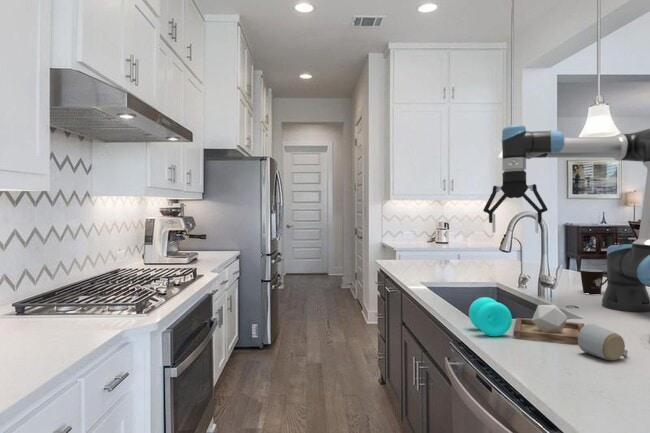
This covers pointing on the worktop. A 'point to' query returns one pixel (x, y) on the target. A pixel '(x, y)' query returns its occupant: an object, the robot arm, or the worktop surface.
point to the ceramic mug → (601, 342)
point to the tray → (532, 332)
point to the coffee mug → (592, 280)
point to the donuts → (498, 316)
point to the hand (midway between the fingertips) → (514, 232)
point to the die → (549, 319)
